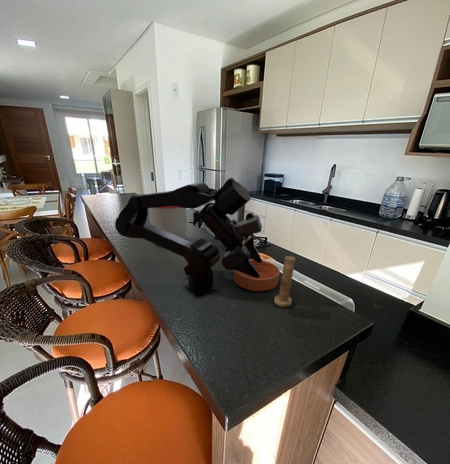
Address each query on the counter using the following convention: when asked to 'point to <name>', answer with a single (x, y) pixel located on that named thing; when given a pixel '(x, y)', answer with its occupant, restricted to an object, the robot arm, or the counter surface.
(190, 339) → the counter surface
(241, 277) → the bowl
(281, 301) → the wooden pestle
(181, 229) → the citrus juicer
